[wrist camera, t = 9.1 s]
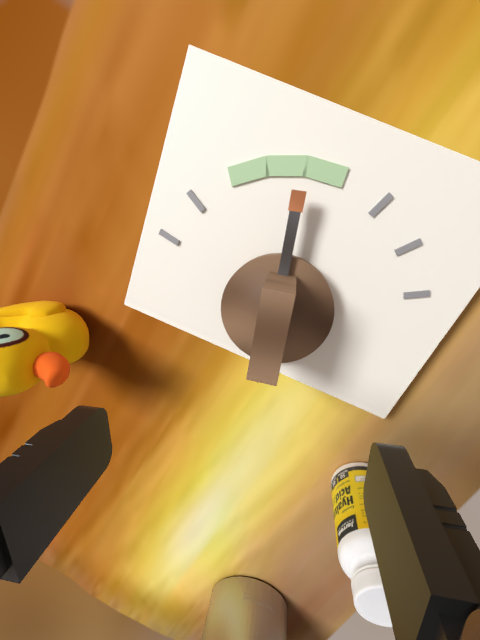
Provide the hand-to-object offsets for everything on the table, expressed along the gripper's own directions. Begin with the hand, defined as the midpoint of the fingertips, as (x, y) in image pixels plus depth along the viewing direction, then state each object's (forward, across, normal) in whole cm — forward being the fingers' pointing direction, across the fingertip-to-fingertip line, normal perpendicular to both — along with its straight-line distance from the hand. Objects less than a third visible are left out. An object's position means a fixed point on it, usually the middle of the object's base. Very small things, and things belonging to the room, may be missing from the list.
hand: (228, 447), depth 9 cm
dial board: (+16, -2, -4) cm, 17 cm away
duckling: (+17, +19, +3) cm, 25 cm away
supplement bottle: (+17, -9, +17) cm, 25 cm away
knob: (+15, -1, -2) cm, 15 cm away
